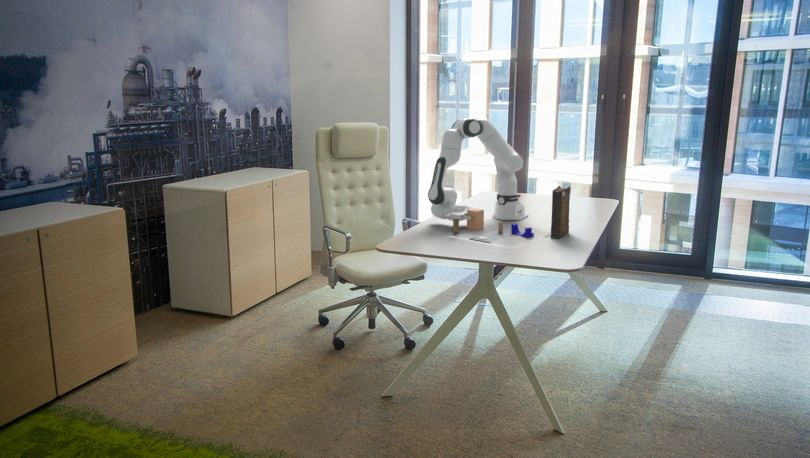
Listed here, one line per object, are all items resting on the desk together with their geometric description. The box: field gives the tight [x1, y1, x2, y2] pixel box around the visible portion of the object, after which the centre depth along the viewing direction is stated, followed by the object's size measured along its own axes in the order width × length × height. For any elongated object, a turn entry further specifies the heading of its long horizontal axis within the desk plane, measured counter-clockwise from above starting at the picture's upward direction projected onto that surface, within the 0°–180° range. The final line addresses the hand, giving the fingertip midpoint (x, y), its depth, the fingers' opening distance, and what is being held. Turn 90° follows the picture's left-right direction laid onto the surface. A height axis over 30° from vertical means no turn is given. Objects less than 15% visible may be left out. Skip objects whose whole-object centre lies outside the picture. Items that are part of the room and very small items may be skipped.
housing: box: [466, 207, 485, 231], centre depth 346 cm, size 6×6×11 cm
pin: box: [452, 218, 460, 237], centre depth 334 cm, size 3×3×9 cm
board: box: [469, 220, 513, 244], centre depth 329 cm, size 22×12×7 cm, turn 138°
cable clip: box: [510, 223, 535, 239], centre depth 331 cm, size 12×4×6 cm, turn 33°
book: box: [550, 185, 571, 239], centre depth 331 cm, size 17×7×25 cm, turn 146°
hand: (476, 216), depth 345 cm, fingers open, 8 cm apart
